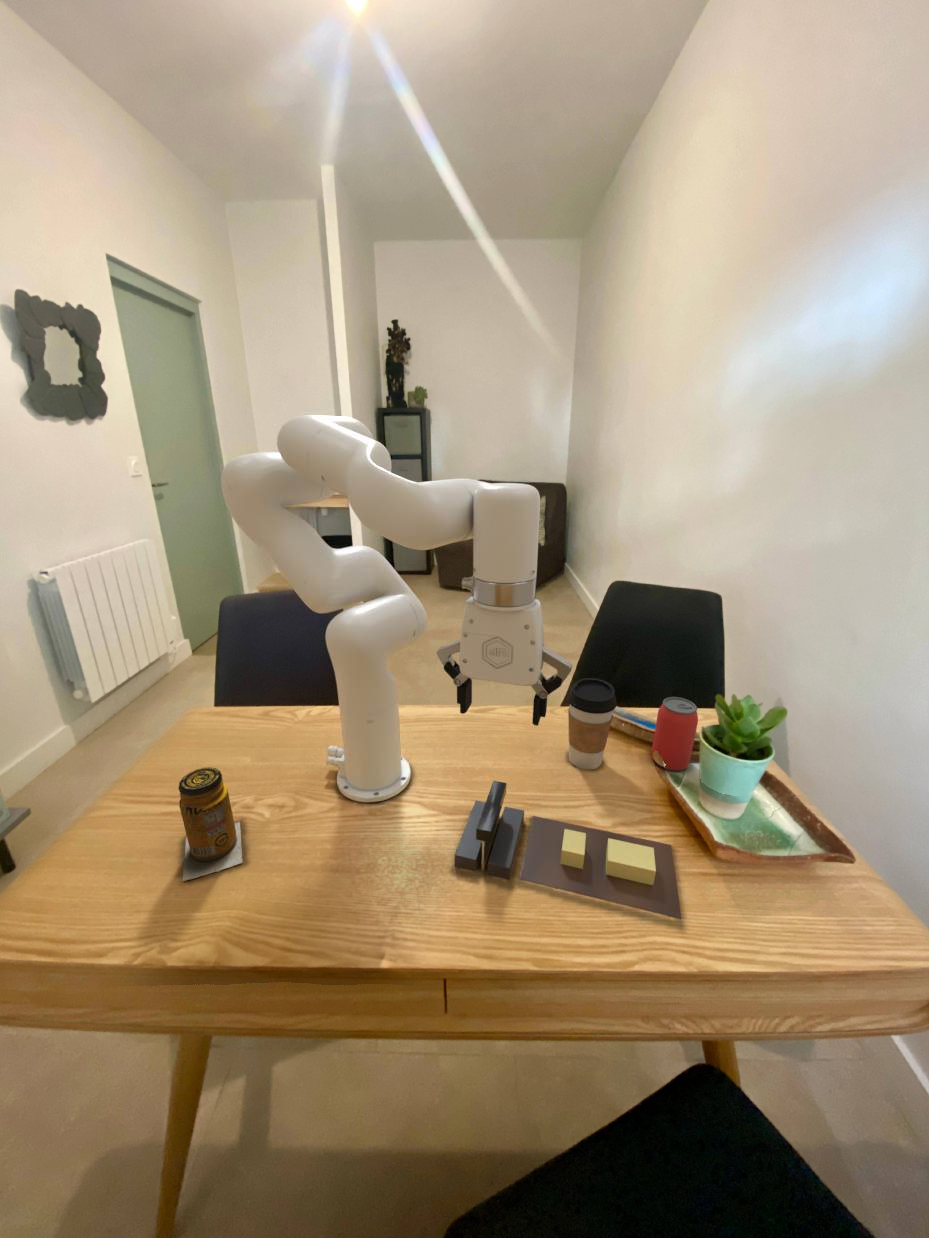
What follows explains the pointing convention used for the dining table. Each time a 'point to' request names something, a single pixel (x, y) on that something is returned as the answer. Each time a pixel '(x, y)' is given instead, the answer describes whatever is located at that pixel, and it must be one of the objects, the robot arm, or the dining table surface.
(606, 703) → the coffee cup
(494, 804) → the cleaver
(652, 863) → the butter
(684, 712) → the beer can
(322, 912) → the dining table surface
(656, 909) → the board
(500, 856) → the stand
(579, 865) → the butter slice
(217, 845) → the condiment
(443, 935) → the dining table surface
